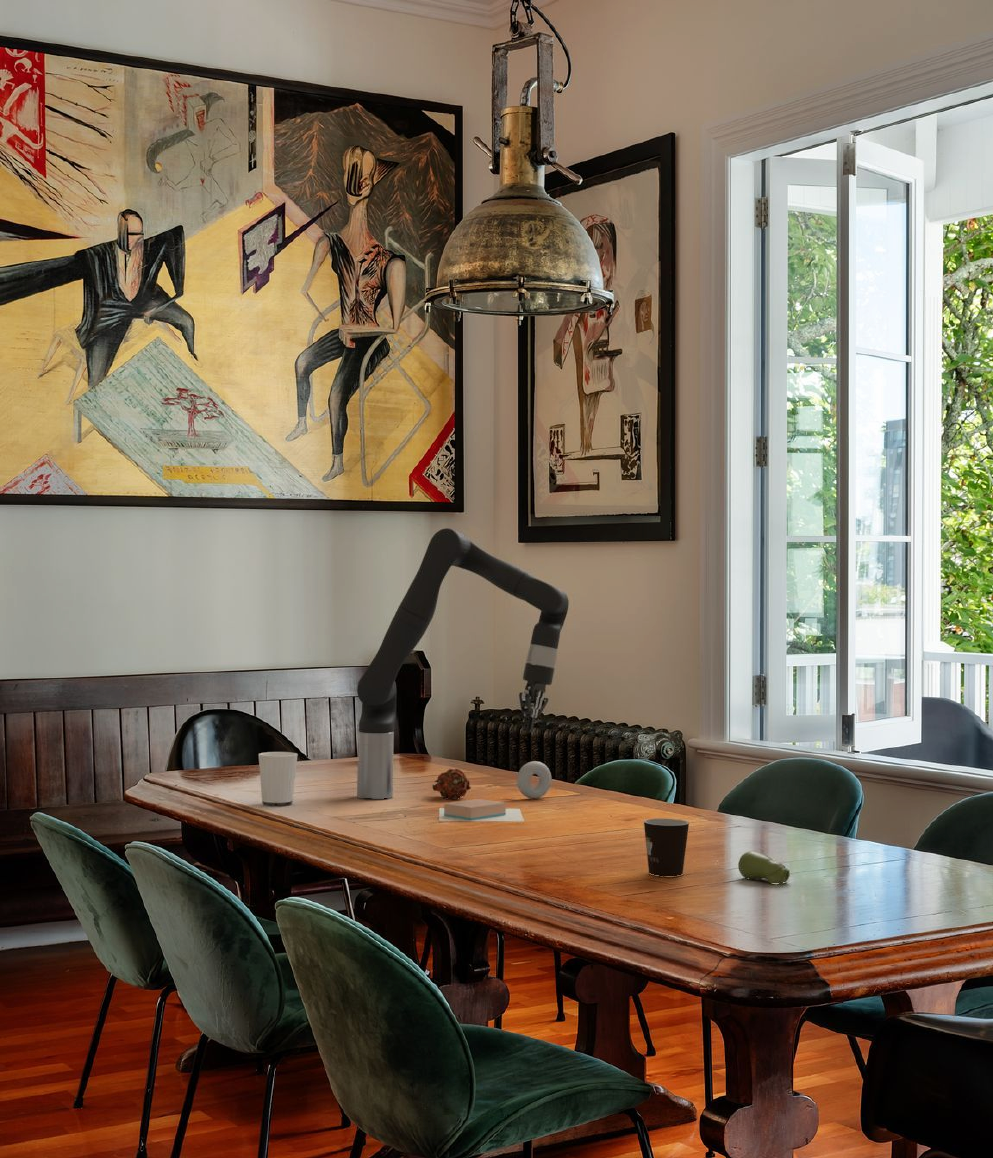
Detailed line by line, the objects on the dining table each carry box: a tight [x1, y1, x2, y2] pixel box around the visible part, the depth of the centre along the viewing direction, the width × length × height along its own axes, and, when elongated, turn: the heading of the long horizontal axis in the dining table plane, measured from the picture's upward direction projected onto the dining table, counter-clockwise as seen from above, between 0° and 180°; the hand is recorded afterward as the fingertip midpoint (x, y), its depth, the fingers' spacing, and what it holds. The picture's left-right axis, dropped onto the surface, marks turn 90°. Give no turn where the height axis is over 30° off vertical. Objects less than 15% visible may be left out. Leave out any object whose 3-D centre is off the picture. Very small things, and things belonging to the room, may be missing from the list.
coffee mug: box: [643, 817, 690, 876], centre depth 263 cm, size 12×9×10 cm
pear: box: [737, 851, 791, 885], centre depth 256 cm, size 6×5×10 cm
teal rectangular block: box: [443, 798, 507, 820], centre depth 328 cm, size 3×9×12 cm
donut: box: [516, 760, 552, 800], centre depth 361 cm, size 10×4×10 cm, turn 116°
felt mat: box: [438, 807, 525, 823], centre depth 330 cm, size 20×20×1 cm
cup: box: [258, 751, 298, 807], centre depth 345 cm, size 10×10×13 cm
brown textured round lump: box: [432, 768, 472, 800], centre depth 360 cm, size 8×8×12 cm
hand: (527, 731), depth 345 cm, fingers closed
